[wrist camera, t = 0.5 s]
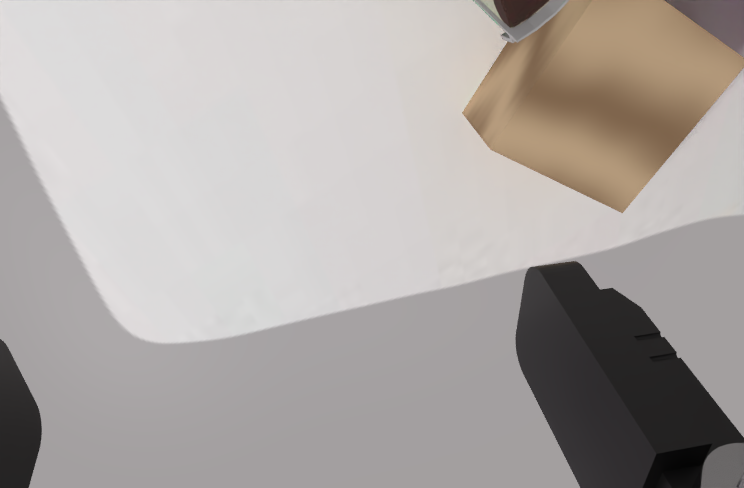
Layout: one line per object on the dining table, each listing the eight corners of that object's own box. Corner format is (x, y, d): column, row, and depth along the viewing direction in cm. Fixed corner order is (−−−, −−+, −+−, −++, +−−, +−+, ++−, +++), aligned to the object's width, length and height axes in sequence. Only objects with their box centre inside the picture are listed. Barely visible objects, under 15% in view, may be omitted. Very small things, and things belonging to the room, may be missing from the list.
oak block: (567, -55, 33) (616, -35, 29) (691, 32, 37) (748, 61, 33) (460, 110, 37) (490, 149, 33) (582, 172, 41) (622, 213, 37)
